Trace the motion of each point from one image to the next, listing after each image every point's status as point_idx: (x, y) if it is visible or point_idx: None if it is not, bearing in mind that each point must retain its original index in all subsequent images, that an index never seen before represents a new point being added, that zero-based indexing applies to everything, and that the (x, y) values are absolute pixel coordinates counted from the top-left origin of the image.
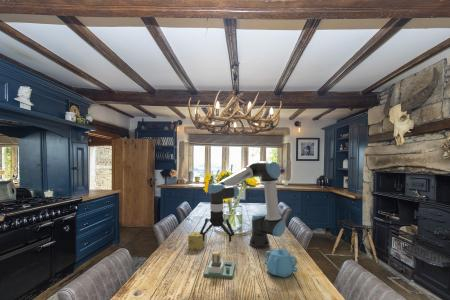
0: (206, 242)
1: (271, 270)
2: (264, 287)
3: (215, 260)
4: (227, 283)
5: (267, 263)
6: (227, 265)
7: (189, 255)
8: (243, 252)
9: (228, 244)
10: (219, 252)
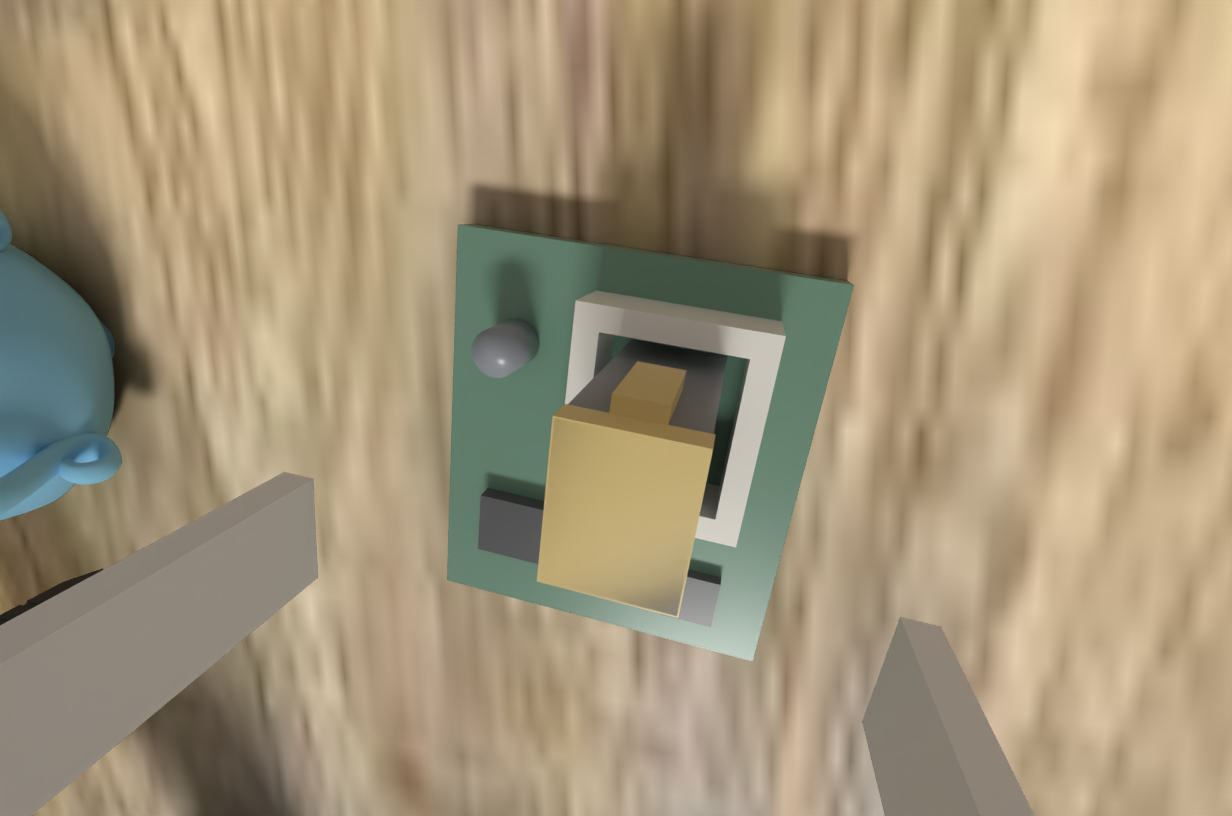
0: (896, 787)
1: (19, 274)
2: (125, 20)
3: (655, 373)
4: (523, 86)
5: (18, 367)
6: (529, 498)
7: None
8: (399, 794)
9: (210, 521)
10: (552, 493)
